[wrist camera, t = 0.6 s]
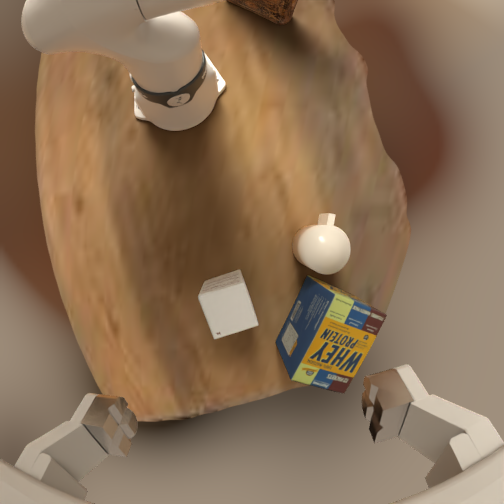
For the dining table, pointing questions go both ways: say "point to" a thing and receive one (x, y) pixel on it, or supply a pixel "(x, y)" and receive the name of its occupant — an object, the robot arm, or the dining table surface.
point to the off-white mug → (322, 246)
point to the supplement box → (227, 304)
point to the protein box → (327, 335)
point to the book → (269, 9)
